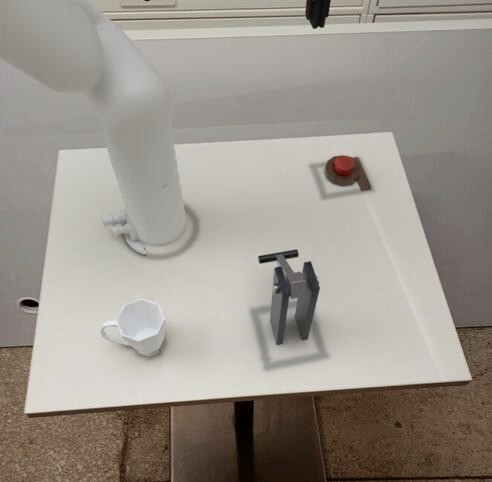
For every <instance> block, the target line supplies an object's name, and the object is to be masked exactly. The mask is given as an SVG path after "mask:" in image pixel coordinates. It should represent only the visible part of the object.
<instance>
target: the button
mask: <svg viewBox="0 0 492 482" xmlns="http://www.w3.org/2000/svg"><path fill="white" fill-rule="evenodd" d="M342 155H343V156H340V155H338V156H339V157H337V158H336V160H335V163H334V168H332V169H333V172H334V173H335V174H337V175H339V176H343V177H345V176H350V175H351V174H353V168H354V164H355V162H354V160H353V159H352V158H353V157H352V156H350V155H344V154H342ZM351 157H352V158H351Z"/></svg>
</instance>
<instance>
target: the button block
mask: <svg viewBox="0 0 492 482" xmlns="http://www.w3.org/2000/svg"><path fill="white" fill-rule="evenodd" d="M343 155H344V154H341V155H334V156H333V157H331V158H329V159H327V161H326V164H325V167H324V171H323V172H324V175H325V178H326V180H327V181H328V182H330V183H331V184H333V185H335V186H339V187H349V186H353V185H354V184H355V183H357V185H358V187H359V188H358V189H359V190H360V191H361V192H364V191H365V192H366V191H371V189H372V185H371V182H370V181H369V178H368V176H367V174H366V172H365V169H364V167H363V165H362V163H361V161H360V158H359V156H355V157H352V156H350V157H351V158H352V159H353V160H354V162H355V164H354V168H353V172H352V174H351V175H349V176H345V177H343V176H339V175H337V174H336V173H335V172H334V169H333V168H334V163H335V160H336V158H337V157H339V156H343Z"/></svg>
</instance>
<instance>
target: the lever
mask: <svg viewBox="0 0 492 482" xmlns="http://www.w3.org/2000/svg"><path fill="white" fill-rule="evenodd" d="M299 254H300V253H299V250H298V249H297V248H296V249H291V250H290V249H289V250H284V251H278V252H273V253H267V254H262V255H261V254H260V255H258V256H257V261H258V264H259V265H260V264H267V263H273V262H276V264H277V267H280V266H282V269H283V272H284V276H285V279H286V282H287V286H288V289H289V292H290V296H289V299H291V300H294V299H298V298H300V297H305V296H307V285H306V279H305V278H304V276H303V275H302V272H301V271H296V272H294V270H293V268H292V267H291V265H290V264H289V263H288V261H287V260H290V259H295V258H299V256H300V255H299Z"/></svg>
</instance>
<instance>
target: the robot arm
mask: <svg viewBox="0 0 492 482" xmlns="http://www.w3.org/2000/svg"><path fill="white" fill-rule="evenodd" d="M331 1H332V0H306V3H305V11H304V12H305V13H304V14H305V19H306V20H307V21H309V24H310V25H311V28H312V30H317V29H318V28H320V29H323V28H325V25H326V19H327V18H329V17H330V7H331ZM0 60H2V61H3V62H6V64H7V63H8V64H9V65H11V66H12V67H14V68H16V69H18V71H20V72H22V73H23V74H26V75H27V76H28V77H30V78H31V79H33V80H35V81H36V82H38V83H40V84H41V85H43V86H45V87H46V88H48V89H51V90H53V91H55V92H59V93H64V94H68V95H69V94H80V93H82V94H83V96H84V98H85V99H86V101H87V103H88V104H89V105H90V107H91V109H93V111H94V113H95V114H96V116H97V117H98V120H99V122H100V124H101V126H102V128H103V132H104V135H105V139H106V140H105V142H106V149H107V154H108V157H109V161H110V164H111V168H112V170H113V173H114V175H115V179H116V182H117V185H118V188H119V192H120V195H121V198H122V202H123V204H124V210H120V211H119V213H115V214H113V213H111V214H104V215H102V216H101V219H102V224H103V227H104V228H105V227H110V233H111V235H112V236H118V235H121V234H123V235H124V238H125V240H126V242H127V244H128V245H129V246H130V248H131V249H133V250H134V251H135V252H137V253H139V254H141V255H143V256H147V251H146V245H147V246H151V247H163V246H167V245H170V244H172V243H175V242H176V241H177V240H179V239H180V238H181V237H182V235H183V234H184V232H185V231H186V228H187V216H186V210H185V205H184V198H183V193H182V192H183V191H182V185H181V180H180V173H179V168H178V161H177V155H176V150H175V143H174V135H173V134H174V131H173V127H174V125H173V123H174V102H173V97H172V94H171V92H170V90H169V87H168V85H167V83H166V82H165V80H164V78H163V77H162V75H161V74H160V73H159V72H158V70H157V69H156V68H155V66H154V65H153V64H152V62H150V60H149V59H148V58H147V57H146V55H145V54H144V53H143V52H142V51H141V50H140V48H138V47H137V45H136V44H135V43H134V42H133V40H132V39H131V38H130V37H129V36H128V35H127V34H126V32H125V31H123V29H121V27H120V26H119V25H118V24H117V23H115V22H114V21H112V20H111V19H110V18H109V17H108V16H106V15H105V14H104V13H103V12H102V11H100V9H99V8H97V7H96V6H95V5H93V4H92V3H91V2H90V1H89V0H0ZM121 224H122V225H121ZM115 225H119V226H115Z"/></svg>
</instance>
